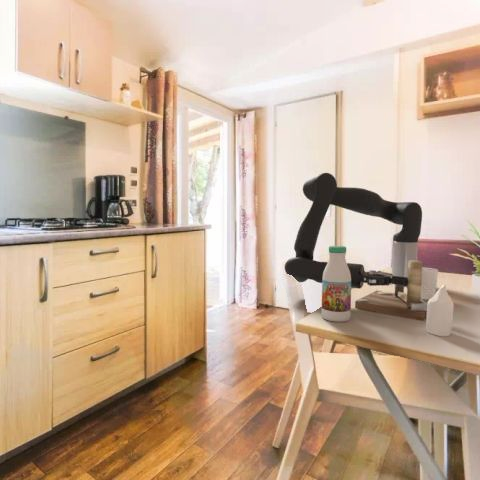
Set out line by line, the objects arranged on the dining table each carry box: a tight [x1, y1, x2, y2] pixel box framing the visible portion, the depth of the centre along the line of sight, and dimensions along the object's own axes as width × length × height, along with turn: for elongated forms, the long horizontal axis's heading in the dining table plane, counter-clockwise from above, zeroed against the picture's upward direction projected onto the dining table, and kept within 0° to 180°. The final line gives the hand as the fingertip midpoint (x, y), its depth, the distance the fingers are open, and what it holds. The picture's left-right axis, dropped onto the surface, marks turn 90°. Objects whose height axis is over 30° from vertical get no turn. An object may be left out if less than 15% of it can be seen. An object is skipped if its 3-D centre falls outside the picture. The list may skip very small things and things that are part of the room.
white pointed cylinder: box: [425, 284, 454, 337], centre depth 83 cm, size 6×12×6 cm
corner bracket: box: [411, 300, 427, 311], centre depth 97 cm, size 4×4×2 cm
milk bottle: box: [320, 245, 352, 323], centre depth 94 cm, size 8×8×20 cm
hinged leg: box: [394, 260, 423, 307], centre depth 103 cm, size 16×4×13 cm, turn 172°
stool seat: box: [354, 290, 431, 321], centre depth 106 cm, size 19×19×2 cm
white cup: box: [421, 266, 439, 298], centre depth 117 cm, size 8×8×10 cm
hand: (407, 281), depth 98 cm, fingers closed
